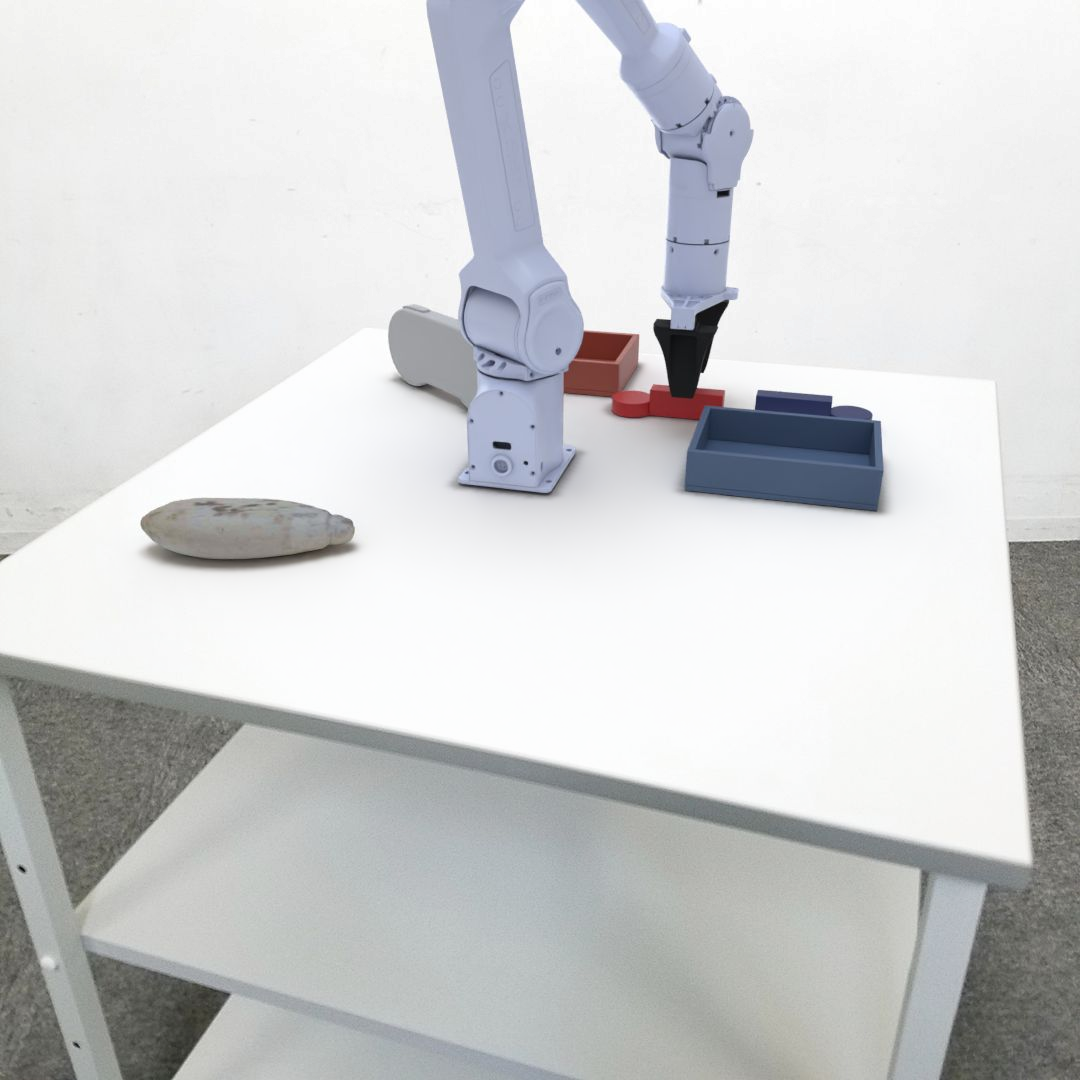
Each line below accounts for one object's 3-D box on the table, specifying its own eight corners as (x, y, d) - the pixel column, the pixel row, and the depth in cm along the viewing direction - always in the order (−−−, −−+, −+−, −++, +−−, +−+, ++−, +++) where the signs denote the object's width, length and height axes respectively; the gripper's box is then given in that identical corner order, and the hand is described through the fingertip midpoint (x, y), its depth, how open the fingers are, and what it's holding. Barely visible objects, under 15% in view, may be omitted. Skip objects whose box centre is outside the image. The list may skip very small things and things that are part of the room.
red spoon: (724, 411, 101) (726, 386, 100) (719, 425, 98) (721, 399, 97) (616, 402, 104) (617, 377, 103) (608, 415, 101) (608, 390, 99)
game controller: (518, 420, 99) (517, 336, 96) (499, 426, 98) (497, 340, 94) (407, 372, 113) (403, 296, 109) (389, 376, 111) (384, 299, 108)
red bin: (618, 397, 105) (619, 364, 104) (476, 385, 109) (475, 352, 107) (638, 364, 115) (639, 334, 113) (507, 354, 118) (506, 324, 117)
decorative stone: (351, 564, 74) (347, 522, 72) (131, 570, 73) (122, 526, 71) (360, 526, 79) (357, 486, 78) (155, 531, 78) (147, 490, 77)
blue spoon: (752, 425, 98) (755, 399, 97) (756, 411, 102) (758, 385, 100) (870, 436, 96) (874, 409, 94) (870, 421, 99) (874, 395, 98)
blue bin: (877, 511, 81) (883, 470, 80) (684, 490, 85) (687, 451, 83) (875, 458, 91) (881, 420, 89) (701, 441, 94) (704, 405, 93)
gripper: (734, 258, 86) (721, 412, 92) (749, 225, 98) (738, 364, 104) (649, 253, 87) (643, 406, 94) (675, 222, 100) (668, 358, 106)
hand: (688, 383), depth 99 cm, fingers open, 7 cm apart
